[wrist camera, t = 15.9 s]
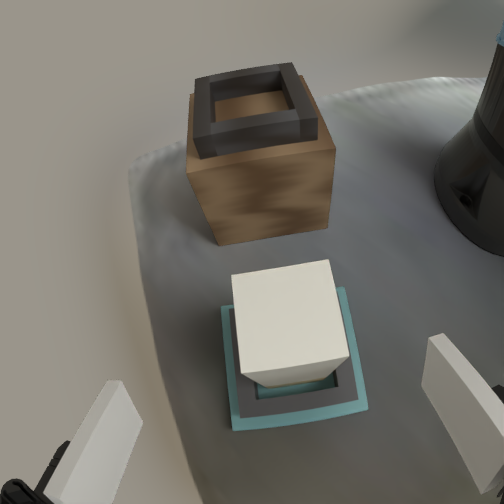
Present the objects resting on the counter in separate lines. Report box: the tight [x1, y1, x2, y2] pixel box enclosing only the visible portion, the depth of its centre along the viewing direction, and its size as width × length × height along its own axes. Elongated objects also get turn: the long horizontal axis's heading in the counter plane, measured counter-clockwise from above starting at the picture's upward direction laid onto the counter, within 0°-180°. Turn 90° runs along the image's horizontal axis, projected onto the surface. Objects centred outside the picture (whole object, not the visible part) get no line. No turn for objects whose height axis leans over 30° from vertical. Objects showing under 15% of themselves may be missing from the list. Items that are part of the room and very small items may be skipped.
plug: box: [231, 259, 349, 389], centre depth 17 cm, size 4×4×12 cm
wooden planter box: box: [186, 62, 336, 246], centre depth 26 cm, size 10×10×12 cm
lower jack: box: [221, 286, 368, 431], centre depth 22 cm, size 10×10×3 cm
